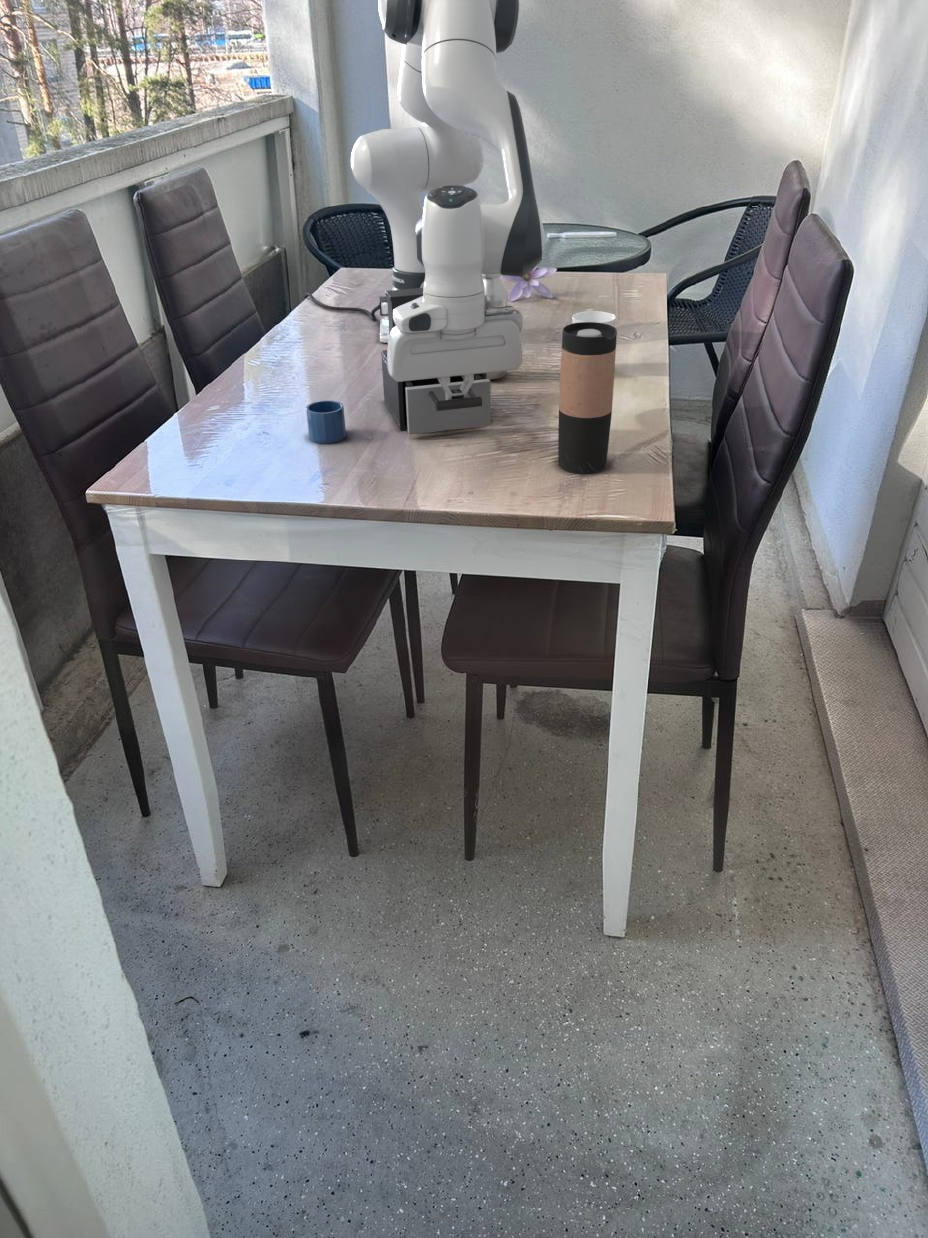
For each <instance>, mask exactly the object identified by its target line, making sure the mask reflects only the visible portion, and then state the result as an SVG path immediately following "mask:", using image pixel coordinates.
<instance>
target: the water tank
mask: <svg viewBox="0 0 928 1238" xmlns="http://www.w3.org/2000/svg"><path fill="white" fill-rule="evenodd" d="M384 295H385V296H387V304H388V316H387V317H388V321H389V335H390V332H391V330H392V329H393V328H394V327H395V326H396V325H395V323H394V320H393V310H394V309H395V308H396V307H398V306H401V305H403V304H406V303H408V302H410V301H413V300H415V299H417V298H419V297H421V296H423V288H415V289H403V290H392V289H391V290H385V294H384Z"/></svg>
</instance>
